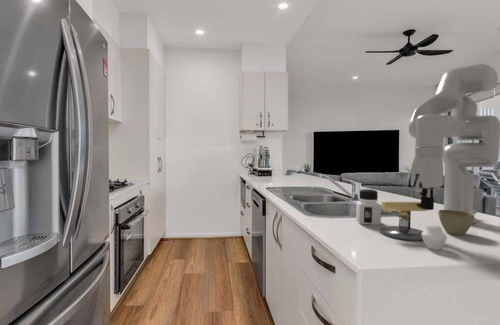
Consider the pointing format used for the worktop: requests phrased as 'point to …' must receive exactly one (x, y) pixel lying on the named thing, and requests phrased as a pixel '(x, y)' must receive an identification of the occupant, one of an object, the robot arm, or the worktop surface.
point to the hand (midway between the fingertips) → (427, 209)
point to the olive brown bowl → (456, 221)
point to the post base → (402, 235)
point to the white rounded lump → (434, 237)
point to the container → (368, 208)
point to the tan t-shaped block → (402, 207)
